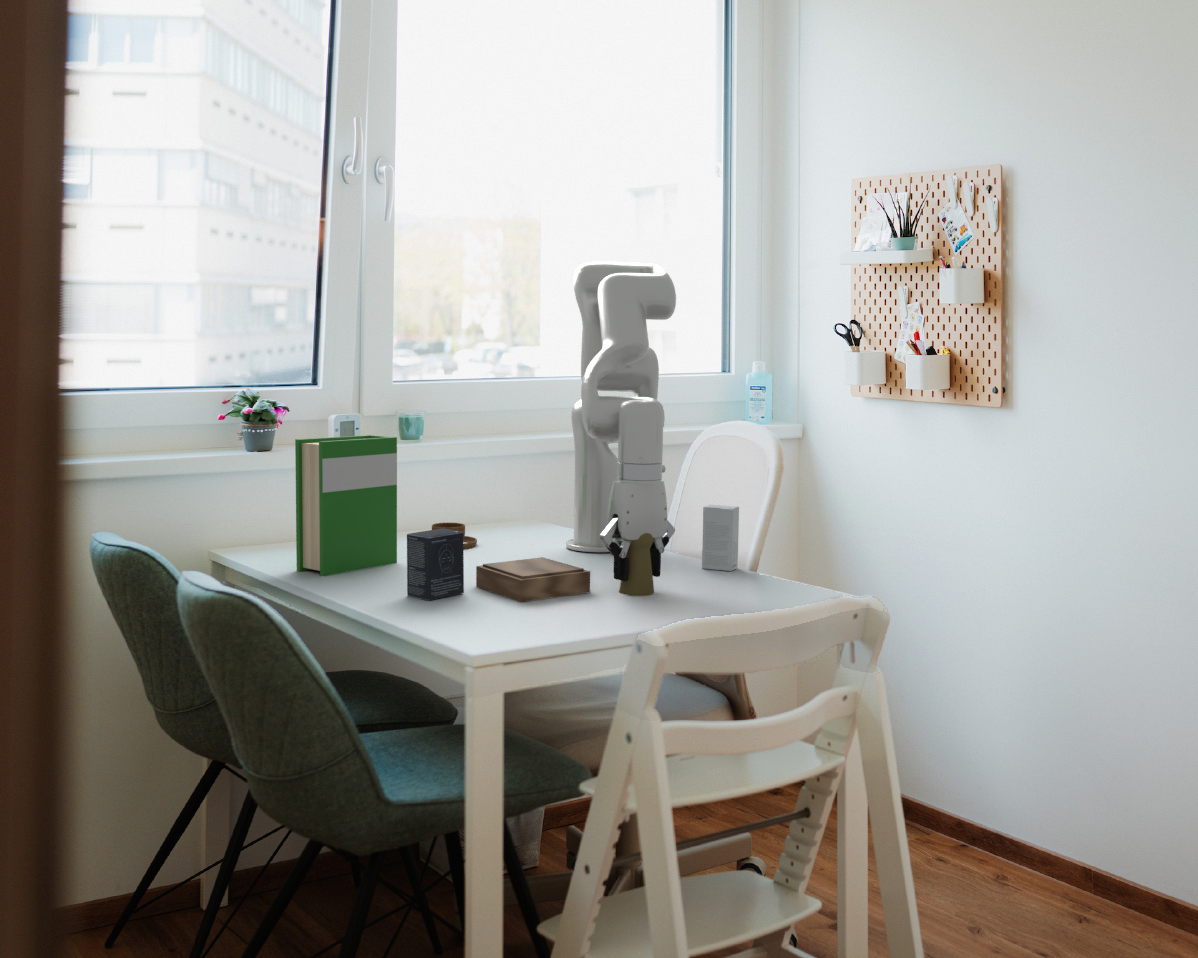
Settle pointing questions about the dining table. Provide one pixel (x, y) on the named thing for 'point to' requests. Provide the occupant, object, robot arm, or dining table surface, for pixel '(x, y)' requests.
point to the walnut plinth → (532, 579)
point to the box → (435, 564)
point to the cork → (639, 568)
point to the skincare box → (720, 537)
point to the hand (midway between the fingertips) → (637, 576)
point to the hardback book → (346, 503)
